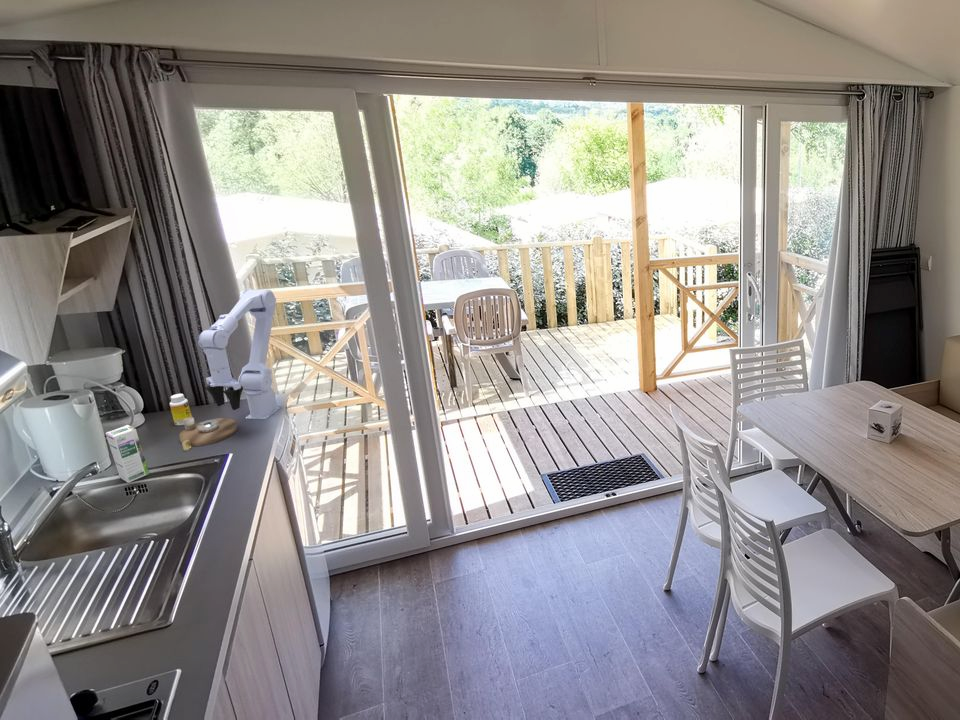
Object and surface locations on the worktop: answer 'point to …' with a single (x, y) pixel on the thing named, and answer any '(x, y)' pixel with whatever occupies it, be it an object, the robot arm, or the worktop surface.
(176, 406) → the supplement bottle
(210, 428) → the metal cover
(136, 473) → the syrup box
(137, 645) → the worktop surface
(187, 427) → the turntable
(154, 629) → the worktop surface
